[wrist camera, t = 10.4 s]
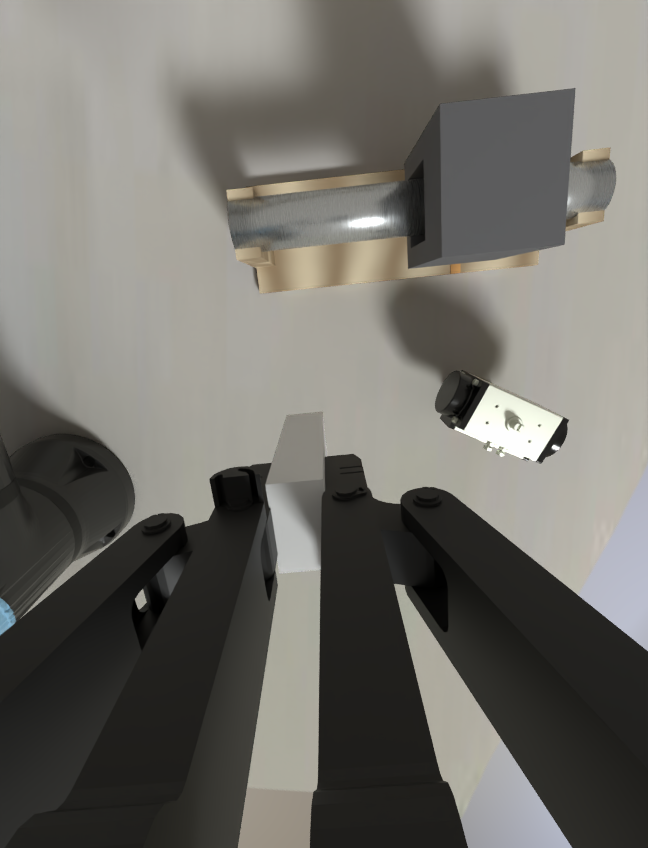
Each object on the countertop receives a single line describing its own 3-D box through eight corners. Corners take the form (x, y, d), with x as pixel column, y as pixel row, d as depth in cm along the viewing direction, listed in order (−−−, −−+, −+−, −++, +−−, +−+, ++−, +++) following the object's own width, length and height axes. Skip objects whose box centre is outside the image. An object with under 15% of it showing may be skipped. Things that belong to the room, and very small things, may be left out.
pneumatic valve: (437, 357, 46) (474, 377, 35) (526, 397, 48) (590, 429, 36) (414, 401, 48) (443, 434, 36) (501, 439, 49) (555, 482, 38)
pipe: (242, 256, 36) (233, 251, 32) (235, 205, 34) (224, 194, 31) (581, 220, 35) (612, 211, 31) (585, 167, 34) (618, 150, 30)
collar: (408, 268, 38) (441, 257, 27) (404, 163, 36) (440, 103, 25) (494, 259, 38) (564, 244, 27) (497, 153, 35) (575, 88, 24)
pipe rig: (261, 293, 44) (241, 292, 34) (247, 189, 41) (220, 152, 31) (533, 265, 43) (600, 255, 33) (538, 157, 40) (614, 108, 30)
